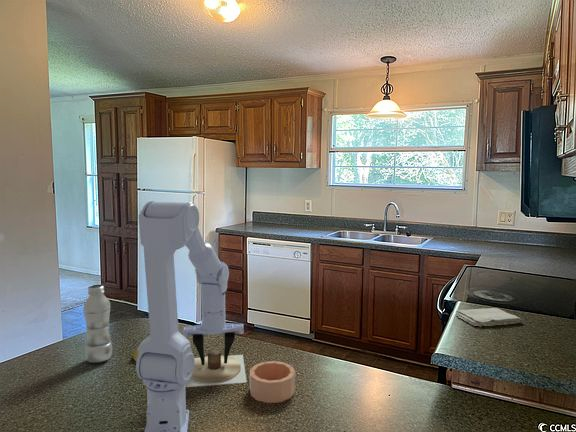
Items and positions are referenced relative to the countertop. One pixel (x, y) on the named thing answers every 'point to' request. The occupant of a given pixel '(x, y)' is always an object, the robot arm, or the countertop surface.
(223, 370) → the lid
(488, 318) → the washcloth
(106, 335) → the plastic bottle
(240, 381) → the mat
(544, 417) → the countertop surface
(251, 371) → the bowl
